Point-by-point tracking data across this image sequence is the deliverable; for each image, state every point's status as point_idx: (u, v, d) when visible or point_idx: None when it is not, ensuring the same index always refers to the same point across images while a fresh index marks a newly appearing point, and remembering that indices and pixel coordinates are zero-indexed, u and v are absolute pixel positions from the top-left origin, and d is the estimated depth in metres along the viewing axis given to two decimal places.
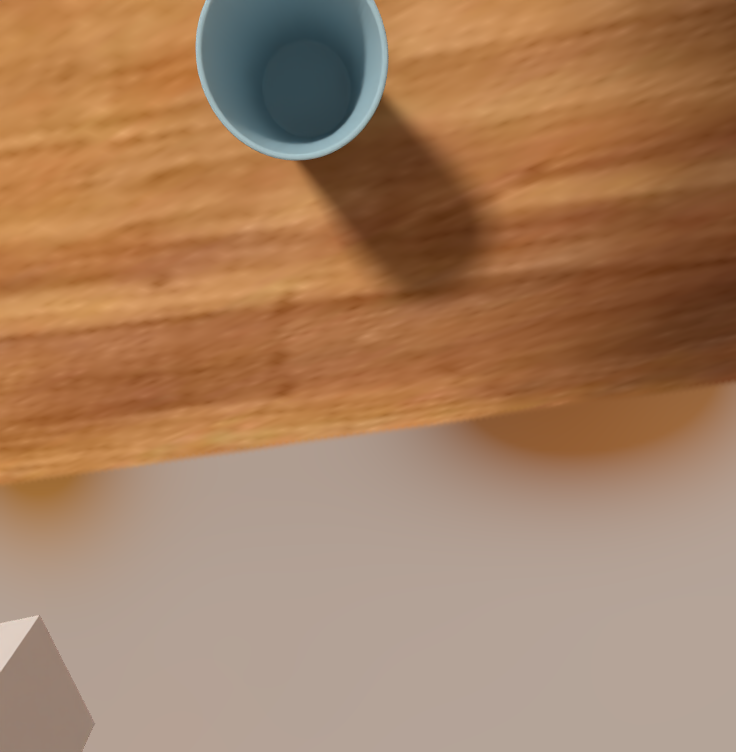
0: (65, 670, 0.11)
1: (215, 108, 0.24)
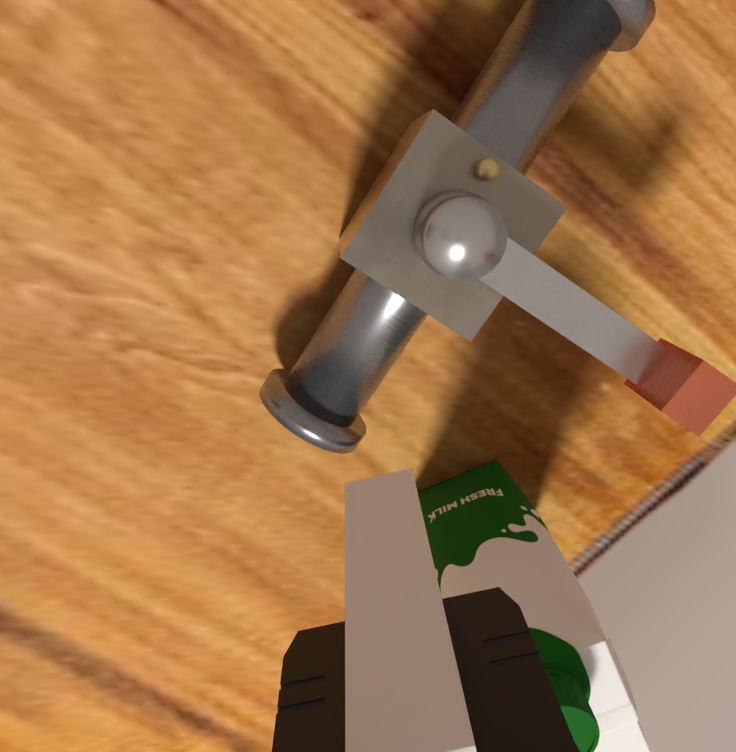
0: None
1: None
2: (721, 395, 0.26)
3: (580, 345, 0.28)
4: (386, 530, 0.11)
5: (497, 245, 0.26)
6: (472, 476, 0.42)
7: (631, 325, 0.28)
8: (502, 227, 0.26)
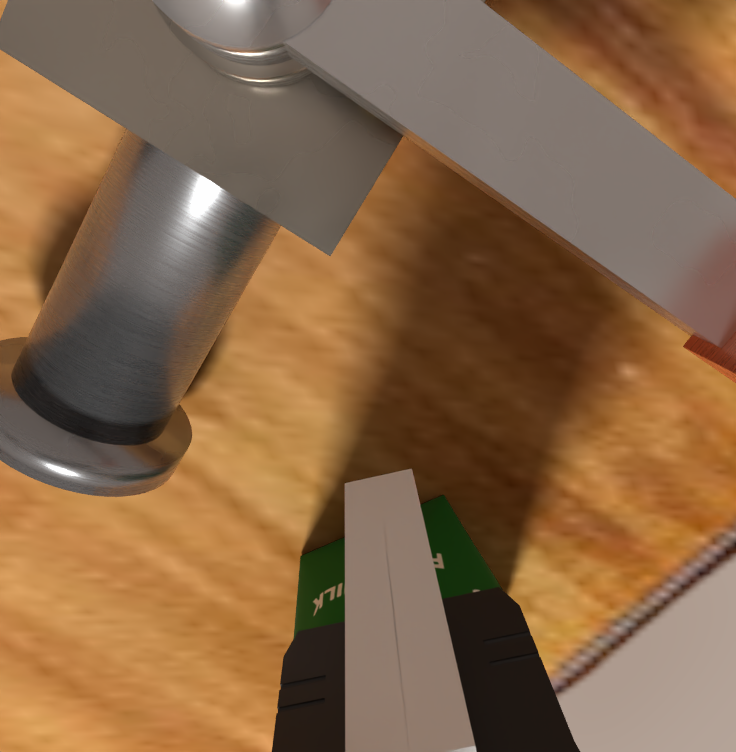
0: None
1: None
2: None
3: (576, 241, 0.11)
4: (386, 530, 0.11)
5: None
6: None
7: (711, 185, 0.11)
8: None
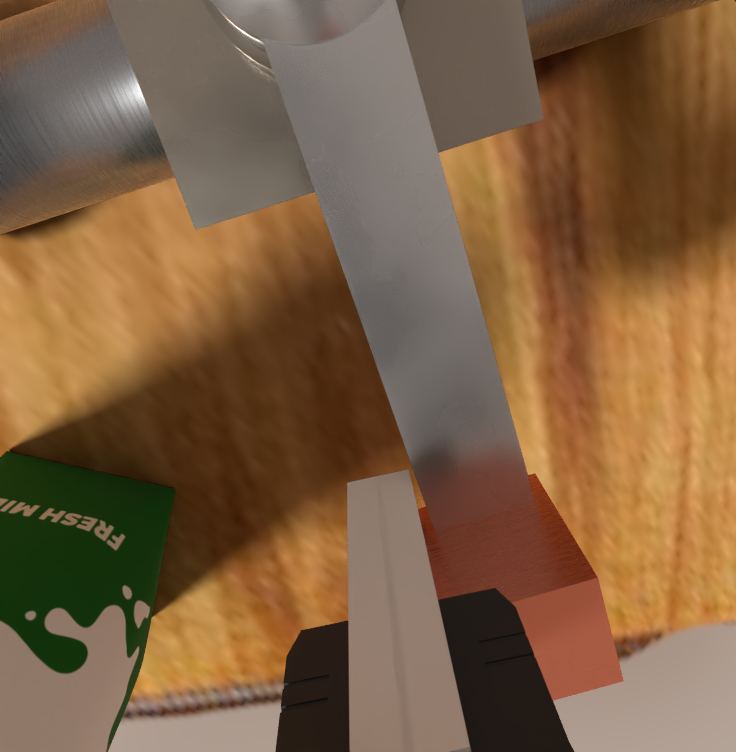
0: None
1: None
2: (575, 670, 0.11)
3: (383, 374, 0.11)
4: (382, 531, 0.11)
5: None
6: (115, 489, 0.23)
7: (505, 407, 0.12)
8: None
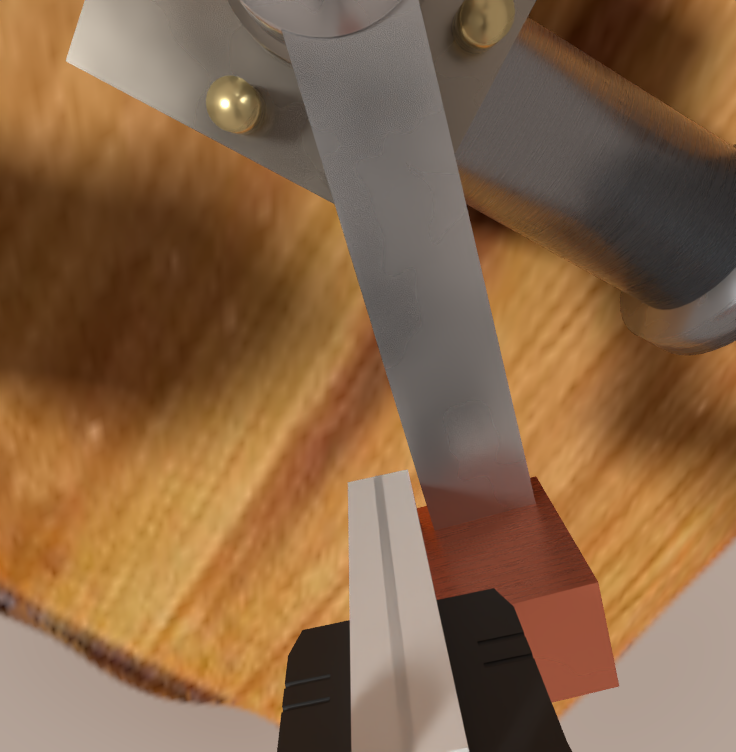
0: None
1: None
2: (571, 674, 0.11)
3: (390, 372, 0.11)
4: (381, 531, 0.11)
5: None
6: None
7: (510, 409, 0.12)
8: None
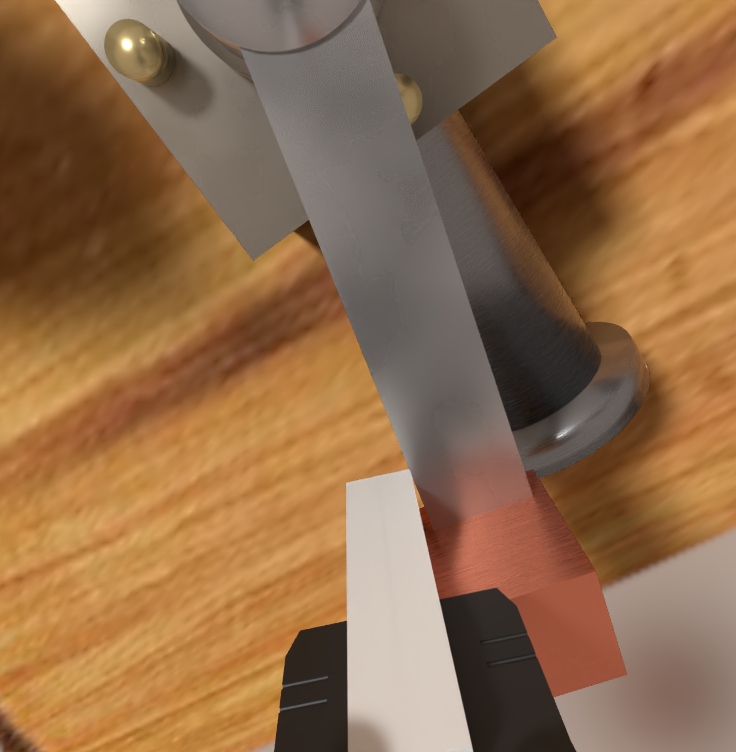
0: None
1: None
2: (578, 665, 0.11)
3: (375, 375, 0.11)
4: (384, 531, 0.11)
5: None
6: None
7: (498, 404, 0.12)
8: None
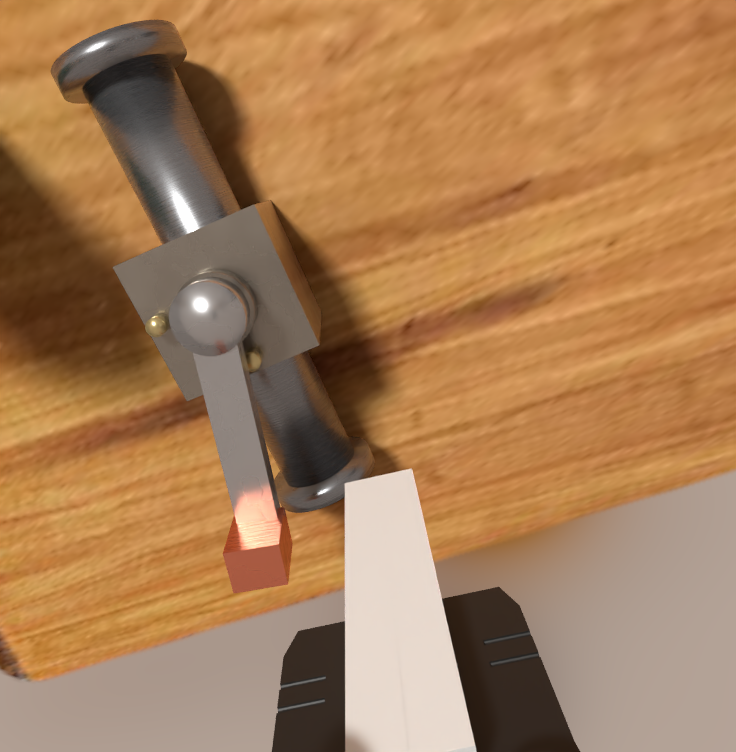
0: None
1: None
2: (270, 577, 0.30)
3: (222, 462, 0.31)
4: (386, 530, 0.11)
5: (224, 343, 0.29)
6: None
7: (267, 480, 0.31)
8: (238, 335, 0.29)
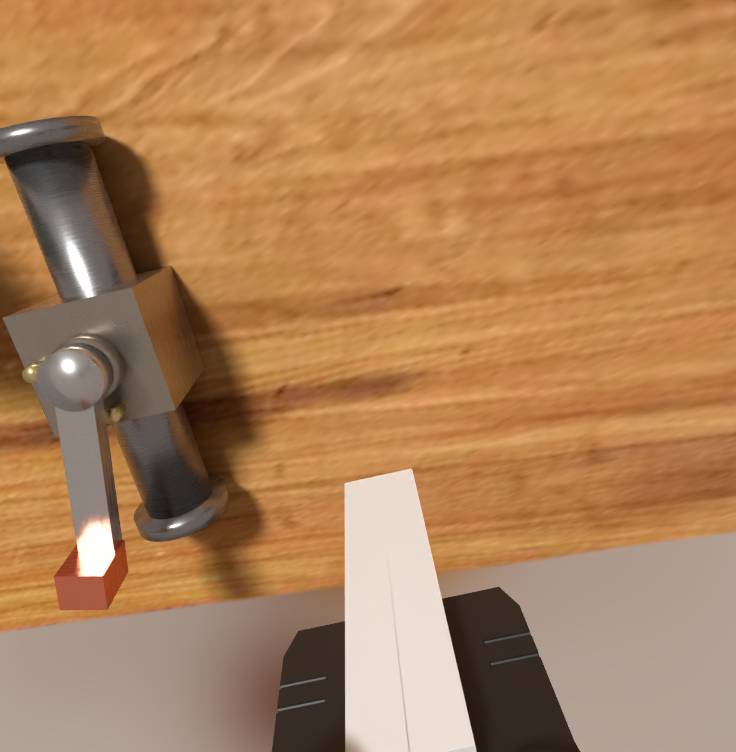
0: None
1: None
2: (93, 602, 0.35)
3: (70, 497, 0.36)
4: (386, 530, 0.11)
5: (82, 403, 0.34)
6: None
7: (108, 518, 0.36)
8: (95, 398, 0.34)
